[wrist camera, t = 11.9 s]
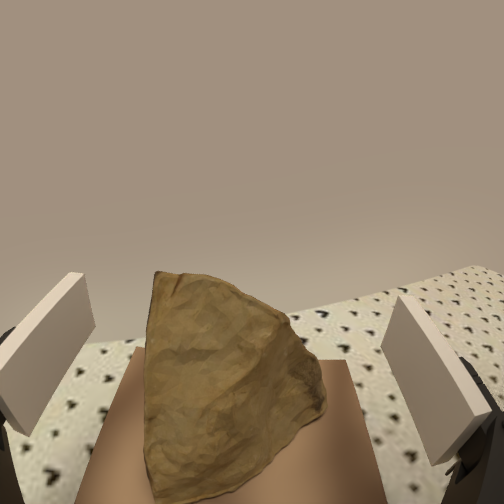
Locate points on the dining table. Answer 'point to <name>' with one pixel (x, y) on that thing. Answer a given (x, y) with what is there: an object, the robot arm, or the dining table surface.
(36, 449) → the dining table surface
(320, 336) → the dining table surface
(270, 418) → the rock
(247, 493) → the plinth
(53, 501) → the dining table surface
